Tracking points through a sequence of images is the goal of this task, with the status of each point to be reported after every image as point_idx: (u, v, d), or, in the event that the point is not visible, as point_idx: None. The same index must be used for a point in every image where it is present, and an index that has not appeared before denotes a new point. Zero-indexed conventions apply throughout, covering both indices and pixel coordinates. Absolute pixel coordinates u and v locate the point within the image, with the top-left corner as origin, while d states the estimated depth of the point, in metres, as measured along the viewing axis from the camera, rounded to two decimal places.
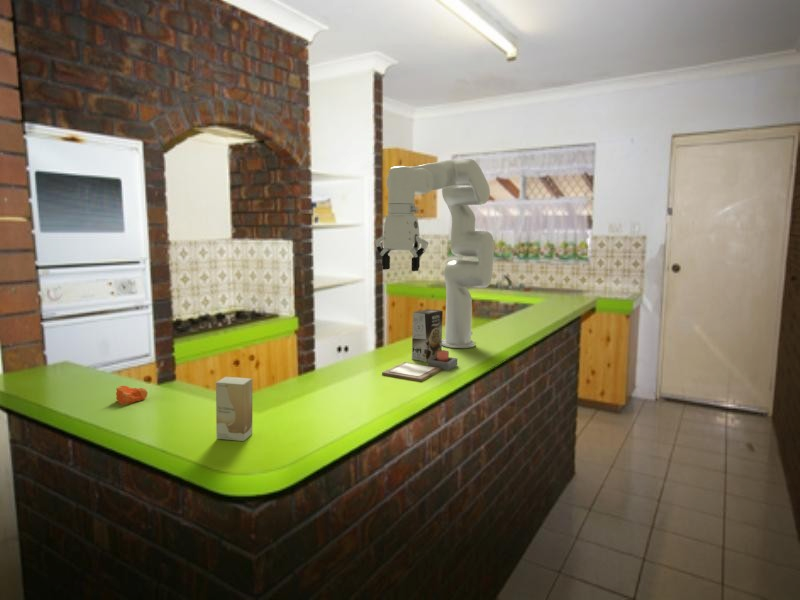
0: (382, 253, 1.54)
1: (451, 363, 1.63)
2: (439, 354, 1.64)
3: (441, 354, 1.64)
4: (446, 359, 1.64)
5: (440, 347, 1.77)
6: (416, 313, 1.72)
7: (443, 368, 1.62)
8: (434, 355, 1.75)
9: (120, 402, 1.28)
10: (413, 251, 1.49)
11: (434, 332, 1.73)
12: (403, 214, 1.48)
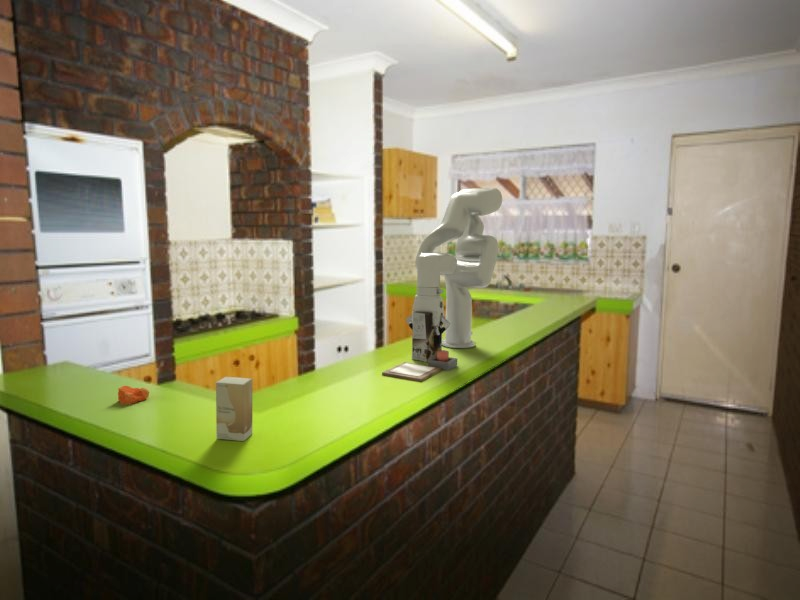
0: None
1: (451, 363, 1.63)
2: (439, 354, 1.64)
3: (441, 354, 1.64)
4: (446, 359, 1.64)
5: (440, 347, 1.77)
6: (416, 313, 1.72)
7: (443, 368, 1.62)
8: (435, 355, 1.75)
9: (122, 402, 1.28)
10: (436, 329, 1.72)
11: (434, 332, 1.73)
12: (430, 296, 1.70)
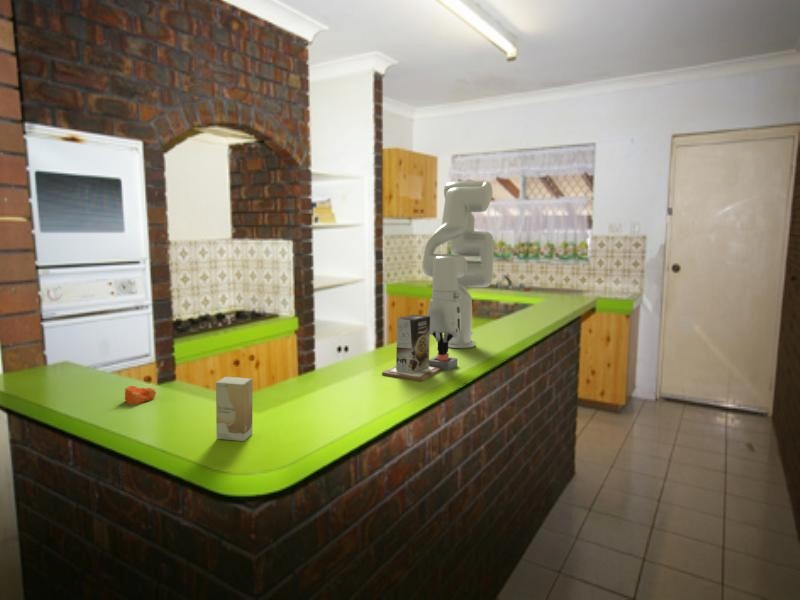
0: (438, 339, 1.64)
1: (451, 363, 1.63)
2: (439, 356, 1.64)
3: (441, 356, 1.64)
4: (446, 361, 1.64)
5: (427, 357, 1.60)
6: (401, 319, 1.54)
7: (443, 368, 1.62)
8: (421, 365, 1.57)
9: (129, 402, 1.28)
10: (446, 337, 1.62)
11: (421, 340, 1.55)
12: (447, 301, 1.59)
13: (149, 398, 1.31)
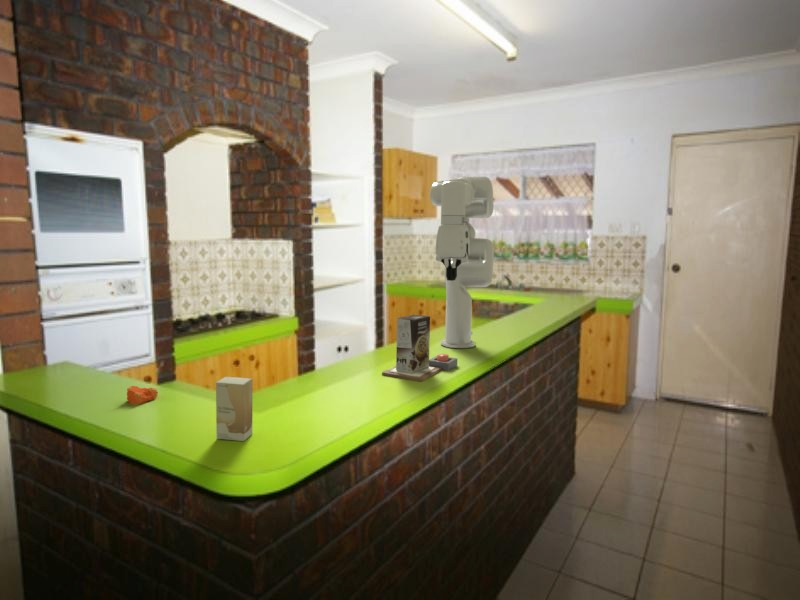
0: (446, 265, 1.65)
1: (451, 363, 1.63)
2: (439, 358, 1.64)
3: (441, 358, 1.64)
4: None
5: (427, 357, 1.60)
6: (400, 319, 1.54)
7: (443, 368, 1.62)
8: (421, 365, 1.57)
9: (132, 402, 1.28)
10: (454, 262, 1.64)
11: (421, 340, 1.55)
12: (456, 225, 1.61)
13: (151, 398, 1.31)
